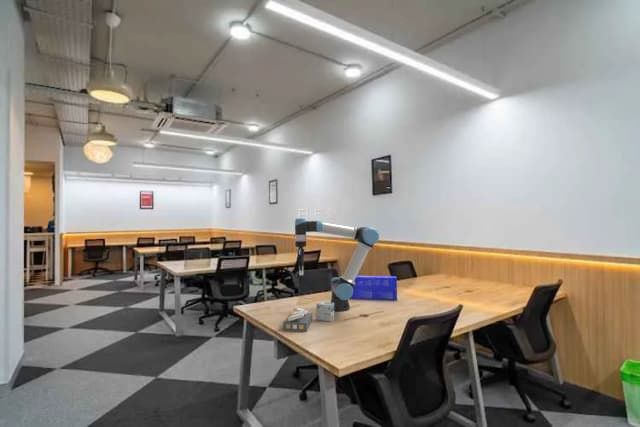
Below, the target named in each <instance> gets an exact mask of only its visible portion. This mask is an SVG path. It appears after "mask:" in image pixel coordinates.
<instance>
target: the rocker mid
mask: <svg viewBox="0 0 640 427" xmlns="http://www.w3.org/2000/svg"><path fill="white" fill-rule="evenodd" d="M306 311H307V310H306V309H304V310H303V311H298V312H295V311H293V312H290V313H291V314H289V315H290V316H292V315H296V314H299V313H302V312H303V313H304V315H305V314H306Z"/></svg>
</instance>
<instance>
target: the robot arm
mask: <svg viewBox="0 0 640 427" xmlns="http://www.w3.org/2000/svg"><path fill="white" fill-rule="evenodd" d="M294 231H295V232H294V235H295V236H294V238H295V242H294V243H295V244H294V245H295V247H297V261H298V264H297V266H298V274H299V276H304V266H305V263H304V261H305V254H304V253H305V248H306V246H307V233H321V234H328V235H332V236H333V235H334V236H338V237H345V238H351V239H352V240H354V241H355V240H356V241H357V246H356V248H355V250H354V252H353V254H352V257H351V259H350V261H349V263H348V265H347V266H346V269H345V271H344V273H343V275H341V276H339V277H336V276H335V277H332V278H331V281H330V282H331V299H330V302H331V303H334V312H347V311H349V310H351V308H350V307H351V305H350V302H349V300H350V298H351V296H352V295H353V288H354V286H355V282H354V281H355V279H356V277H357V276H358V275H359V272H360V270H361V268H362V266H363V264H364V262H365V259H366V257H367V256H368V253H369V251H370V250H372V249H373V248H374V245H375V244H376V243H378V241H379V239H380V233H379V231H378V230H377V229H375V228H374V227H371V226H369V227H368V226H364V227H363V226H362V227H361V226H354V227H352V226H346V225H345V226H344V225H339V224H334V223H333V224H332V223H327V222H324V221H322V220H310V221H309V220H307V219H306V218H295V220H294Z"/></svg>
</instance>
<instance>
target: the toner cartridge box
mask: <svg viewBox="0 0 640 427" xmlns="http://www.w3.org/2000/svg"><path fill="white" fill-rule="evenodd" d="M397 281H398V279H397V276H396V275H393V276H392V275H389V276H388V275H386V276H384V275H357V277H356V279H355V281H354V282H355V286H354V288H353V295H352V296H351V298H349V300H377V301H380V300H383V301H384V300H385V301H398V284H397V283H398V282H397Z"/></svg>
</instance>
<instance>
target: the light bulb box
mask: <svg viewBox="0 0 640 427" xmlns="http://www.w3.org/2000/svg"><path fill="white" fill-rule="evenodd" d="M315 305H316V313H315V314H316V315H315V316H316V320H317V321H324V322H333V321H334V319H335V311H334V303H331V301H330V302H328V301H318V302H317V303H316V304H315Z"/></svg>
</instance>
